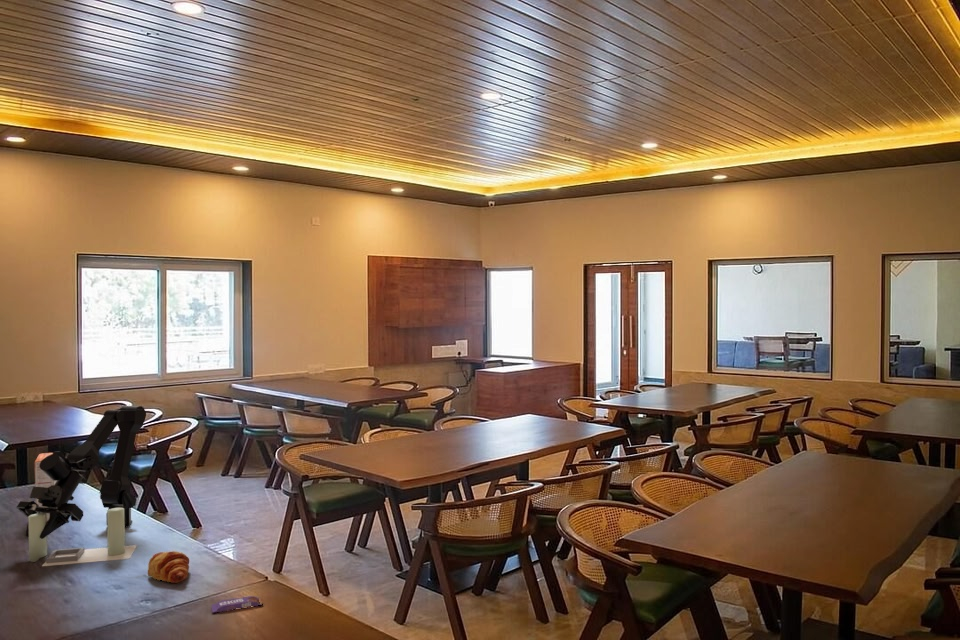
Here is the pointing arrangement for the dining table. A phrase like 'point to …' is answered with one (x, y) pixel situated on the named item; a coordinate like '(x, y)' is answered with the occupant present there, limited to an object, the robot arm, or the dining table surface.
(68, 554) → the base plate
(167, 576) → the croissant
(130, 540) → the dining table surface
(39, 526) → the pillar
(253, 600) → the snack package
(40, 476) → the cracker box
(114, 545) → the fixed pillar
